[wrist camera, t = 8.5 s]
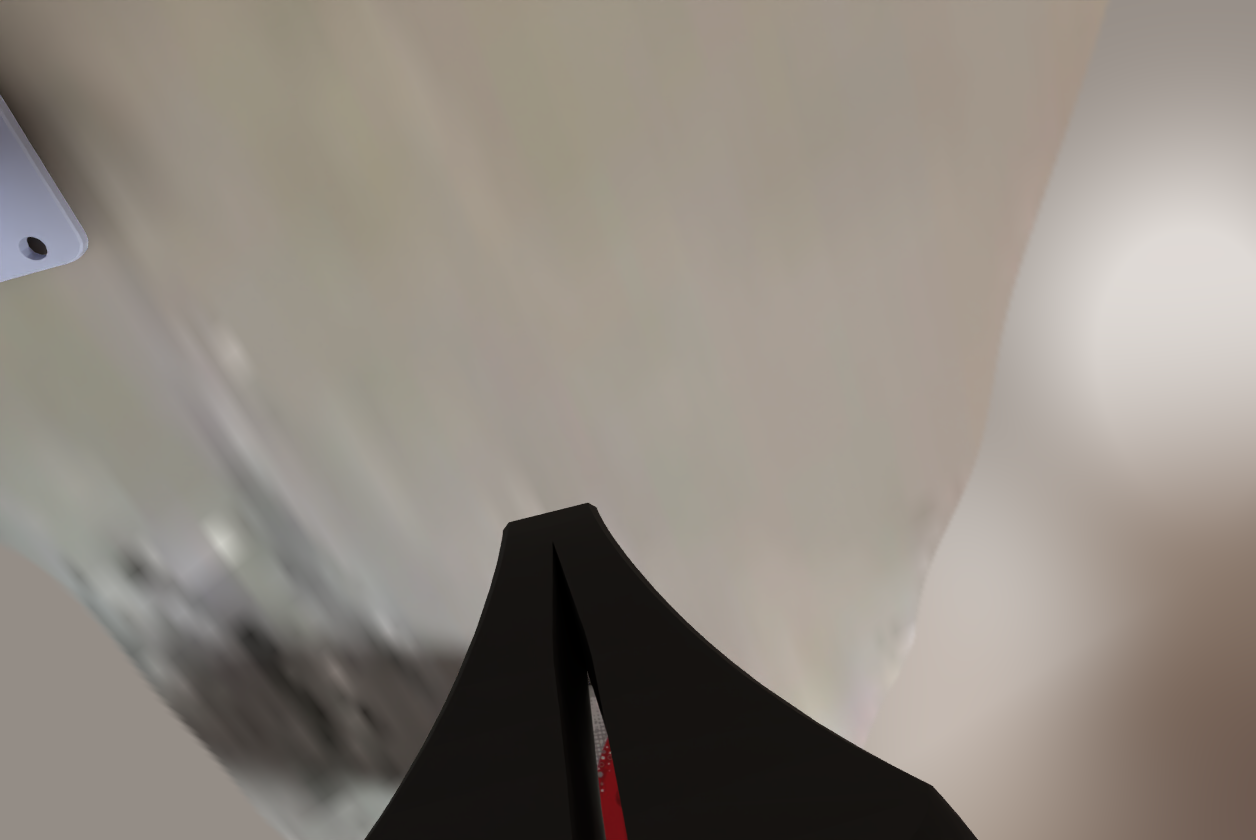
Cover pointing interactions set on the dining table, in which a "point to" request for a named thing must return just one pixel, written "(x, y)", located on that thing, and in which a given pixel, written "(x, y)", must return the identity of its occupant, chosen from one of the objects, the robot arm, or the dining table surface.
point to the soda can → (606, 777)
